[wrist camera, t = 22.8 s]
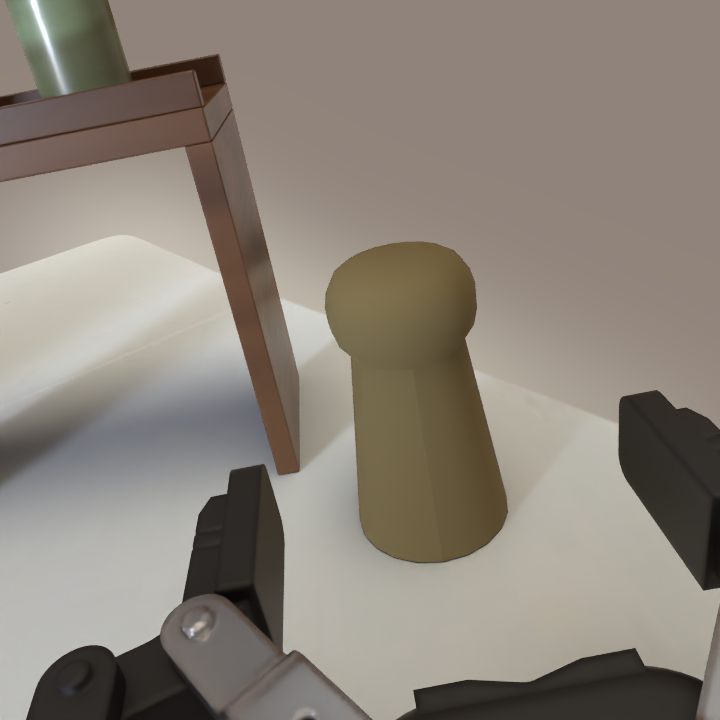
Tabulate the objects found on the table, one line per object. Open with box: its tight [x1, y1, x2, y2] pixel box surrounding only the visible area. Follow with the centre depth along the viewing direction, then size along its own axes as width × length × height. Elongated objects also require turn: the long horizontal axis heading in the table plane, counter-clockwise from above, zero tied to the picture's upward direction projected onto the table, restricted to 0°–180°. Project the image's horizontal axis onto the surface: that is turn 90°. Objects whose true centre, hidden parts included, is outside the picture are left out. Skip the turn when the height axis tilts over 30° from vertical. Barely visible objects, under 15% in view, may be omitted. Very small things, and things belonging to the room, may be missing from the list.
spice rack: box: [0, 0, 300, 475], centre depth 30 cm, size 9×19×22 cm, turn 95°
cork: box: [325, 242, 508, 562], centre depth 25 cm, size 6×6×11 cm
